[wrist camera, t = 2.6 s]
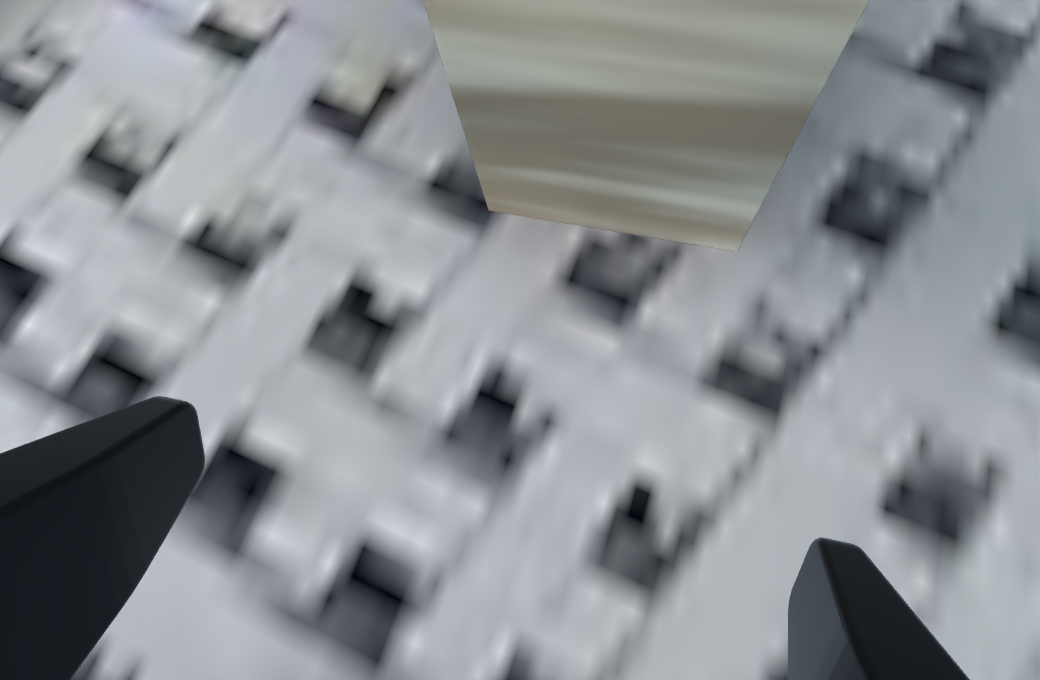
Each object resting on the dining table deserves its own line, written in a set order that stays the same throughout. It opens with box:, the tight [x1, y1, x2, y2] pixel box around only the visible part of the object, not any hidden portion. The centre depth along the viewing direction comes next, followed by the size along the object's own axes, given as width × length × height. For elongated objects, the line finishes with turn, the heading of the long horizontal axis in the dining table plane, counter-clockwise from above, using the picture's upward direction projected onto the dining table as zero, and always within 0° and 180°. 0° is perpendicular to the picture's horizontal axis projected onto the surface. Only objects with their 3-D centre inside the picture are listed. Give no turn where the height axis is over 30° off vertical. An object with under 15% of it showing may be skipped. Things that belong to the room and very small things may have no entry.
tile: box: [423, 0, 869, 252], centre depth 16 cm, size 3×8×15 cm, turn 78°
